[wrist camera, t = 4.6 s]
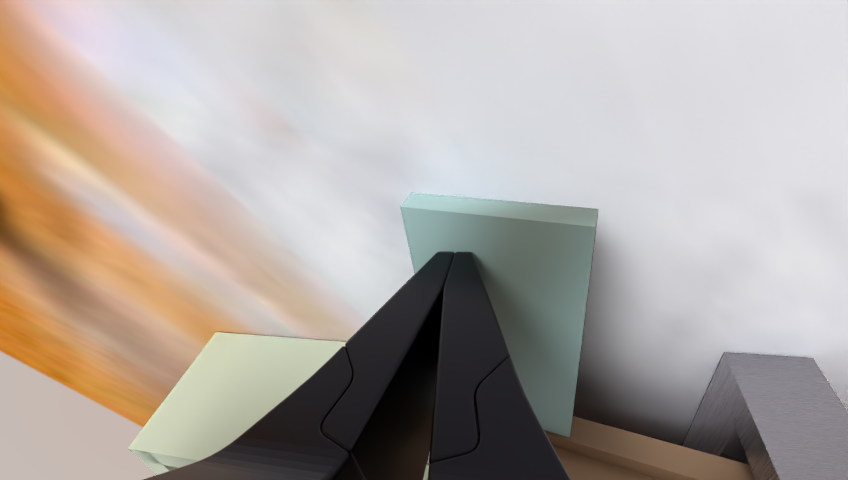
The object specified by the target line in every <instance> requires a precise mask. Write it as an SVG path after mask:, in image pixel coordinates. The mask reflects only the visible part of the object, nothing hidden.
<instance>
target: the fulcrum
mask: <svg viewBox="0 0 848 480" xmlns="http://www.w3.org/2000/svg"><path fill="white" fill-rule="evenodd" d="M682 446H683V447H687V448H690V449H694V450H698V451H701V452H705V453H708V454H712V455H716V456H719V457H723V458H726V459H730V460H734V461H737V462H741V463H745V464H748V465H750V467H751V469H752V472H753V474H754V477H755V479H756V480H848V413H847V411H846V410H845V408H844V407H843V405H842V403H841V402H840V400H839V399H838V397H837V395H836V394H835V392H834V391H833V389H832V388H831V386H830V384H829V383H828V381H827V380H826V378H825V377H824V375H823V373H822V372H821V370H820V369H819V367H818V365H817V364H816V362H815V361H814V359H813V358H800V357H785V356H770V355H755V354H740V353H725V352H724V354H723V356H722V358H721V360H720V363H719V365H718V367H717V369H716V372H715V374H714V376H713V378H712V381H711V383H710V385H709V387H708V389H707V392H706V394H705V396H704V398H703V401H702V403H701V405H700V407H699V409H698V412H697V414H696V416H695V418H694V421H693V423H692V425H691V427H690V429H689V432H688V434H687V436H686V438H685V441H684V443H683V445H682Z"/></svg>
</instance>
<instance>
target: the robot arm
mask: <svg viewBox="0 0 848 480" xmlns="http://www.w3.org/2000/svg"><path fill="white" fill-rule="evenodd" d="M429 451H430V458H429V464H430V465H429V472H428V480H571V479H570V477H569V475H568V473H567V471H566V470H565V468H564V466H563V464H562V462H561V460H560V458H559V457H558V455H557V453H556V451H555V449H554V447H553V446H552V444H551V442H550V440H549V438H548V436H547V435H546V433H545V431H544V429H543V427H542V425H541V424H540V422H539V420H538V418H537V416H536V414H535V412H534V410H533V408H532V406H531V404H530V402H529V400H528V398H527V396H526V393H525V391H524V388H523V386H522V384H521V381H520V379H519V376H518V374H517V371H516V368H515V366H514V363H513V360H512V359H511V355H510V353H509V350H508V347H507V344H506V342H505V339H504V336H503V333H502V331H501V328H500V325H499V323H498V320H497V317H496V314H495V312H494V309H493V306H492V303H491V301H490V298H489V295H488V292H487V290H486V287H485V284H484V282H483V279H482V276H481V273H480V271H479V268H478V265H477V262H476V260H475V257H474V254H473V253H472V252H452V251H439V252H437V253H436V254H435V255H434V256H433V257H432V258H431V259H430V260H429V261H427V262H426V263H425V264H424V265H423V266H422V267H421V268H420V269H419V270H418V271H417V272H416V273H415V274H414V275H413V276H412V277H411V278H410V279H409V280H408V281H407V282H406V283H405V284H404V285H403V286H402V287H401V288H400V289H399V290H398V291H397V292H396V293H395V294H394V295H393V296H392V297H391V298H390V299H389V300H388V301H387V302H386V303H385V304H384V305H383V306H382V307H381V308H380V309H379V310H378V311H377V312H376V313H375V314H374V315H373V316H372V317H371V318H370V319H369V320H368V321H367V322H366V323H365V324H364V325H363V326H362V327H361V328H360V329H359V330H358V331H357V332H356V333H355V334H354V335H353V336H352V337H351V338H350V339H349V340H348V341H347V342H346V343H345V346H342V347H341V348H340V349H339V350H338V351H337V352H336V353H335V354H334V355H333V356H332V357H331V358H330V359H329V360H328V361H327V362H326V363H325V364H324V365H323V366H322V367H321V368H319V369H318V370H317V371H316V372H315V373H314V374H313V375H312V376H311V377H310V378H309V379H307V380H306V381H305V382H304V383H303V384H302V385H300V386H299V387H298V388H297V389H296V390H295V391H294V392H292V393H291V394H290V395H289V396H288V397H286V398H285V399H284V400H283V401H282V402H280V403H279V404H278V405H277V406H275V407H274V408H273V409H272V410H271V411H269V412H268V413H267V414H266V415H265V416H263V417H262V418H261V419H260V420H259V421H257V422H256V423H255V424H254V425H253V426H251V427H250V428H249V429H248V430H246V431H245V432H244V433H243V434H242V435H240V436H239V437H238V438H237V439H235V440H234V441H233V442H231V443H230V444H229V445H227V446H226V447H224V448H223V449H221V450H219V451H218V452H216V453H214V454H212V455H211V456H209V457H206V458H204V459H202V460H200V461H197V462H194V463H192V464H189V465H186V466H183V467H180V468H177V469H174V470H171V471H168V472H165V473H162V474H159V475H156V476H153V477H150V478H147V479H144V480H423V477H424V473H425V469H426V464H427V460H428V455H429Z"/></svg>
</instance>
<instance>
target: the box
mask: <svg viewBox="0 0 848 480" xmlns="http://www.w3.org/2000/svg"><path fill="white" fill-rule="evenodd" d="M345 343H346V342H340V341H327V340H314V339H301V338H288V337H275V336H262V335H249V334H235V333H222V332H216V333H215V334H214V336H213V337H212V338H211V340H210V341H209V342H208V343H207V345H206V346H205V347H204V349H203V350H202V351H201V353H200V354H199V355H198V357H197V358H196V359H195V361H194V362H193V363H192V364H191V366H190V367H189V368H188V370H187V371H186V372H185V374H184V375H183V376H182V378H181V379H180V380H179V382H178V383H177V384H176V385H175V387H174V388H173V389H172V391H171V392H170V393H169V395H168V396H167V397H166V399H165V400H164V401H163V403H162V404H161V405H160V406H159V408H158V409H157V410H156V412H155V413H154V414H153V416H152V417H151V418H150V420H149V421H148V422H147V424H146V425H145V426H144V428H143V429H142V430H141V432H140V433H139V434H138V436H137V437H136V438H135V440H134V441H133V442H132V443H131V445H130V446H129V447H128V449H129V450H130V451H131V452H132V453H133V454H135V455H136V456H137V457H138V458H139V459H140V460H141V461H143V462H144V463H145V464H146V465H147V466H149V468H151V469H152V470H153V471H154V472H155V473H156V474H158V475H159V474H162V473H165V472H168V471H171V470H174V469H177V468H180V467H183V466H186V465H189V464H192V463H194V462H197V461H200V460H202V459H204V458H206V457H209V456H211V455H212V454H214V453H216V452H218V451H219V450H221V449H223V448H224V447H226V446H227V445H229V444H230V443H231V442H233V441H234V440H235V439H237V438H238V437H239V436H240V435H242V434H243V433H244V432H245V431H246V430H248V429H249V428H250V427H251V426H253V425H254V424H255V423H256V422H257V421H259V420H260V419H261V418H262V417H263V416H265V415H266V414H267V413H268V412H269V411H271V410H272V409H273V408H274V407H275V406H277V405H278V404H279V403H280V402H282V401H283V400H284V399H285V398H286V397H288V396H289V395H290V394H291V393H292V392H294V391H295V390H296V389H297V388H298V387H299V386H300V385H302V384H303V383H304V382H305V381H306V380H307V379H309V378H310V377H311V376H312V375H313V374H314V373H315V372H316V371H317V370H318V369H319V368H321V367H322V366H323V365H324V364H325V363H326V362H327V361H328V360H329V359H330V358H331V357H332V356H333V355H334V354H335V353H336V352H337V351H338V350H339V349H340V348H341V347H342V346H345ZM428 472H429V465H427V464H426V469H425V473H424V477H423V480H428Z"/></svg>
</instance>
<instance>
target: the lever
mask: <svg viewBox="0 0 848 480" xmlns="http://www.w3.org/2000/svg"><path fill="white" fill-rule="evenodd" d="M401 212H402V216H403V221H404V226H405V230H406V235H407V240H408V244H409V249H410V254H411V259H412V263H413V268H414V273H416V272H417V271H418V270H419V269H420V268H421V267H422V266H423V265H424V264H425V263H426V262H427V261H429V260H430V259H431V258H432V257H433V256H434V255H435V254H436V253H437V252H439V251H452V252H472V253H473V254H474V257H475V260H476V262H477V265H478V268H479V271H480V273H481V276H482V279H483V282H484V284H485V287H486V290H487V292H488V295H489V298H490V301H491V303H492V306H493V309H494V312H495V314H496V317H497V320H498V323H499V325H500V328H501V331H502V333H503V336H504V339H505V342H506V344H507V347H508V350H509V353H510V355H511V359H512V360H513V363H514V366H515V368H516V371H517V374H518V376H519V379H520V381H521V384H522V386H523V388H524V391H525V393H526V396H527V398H528V400H529V402H530V404H531V406H532V408H533V410H534V412H535V414H536V416H537V418H538V420H539V422H540V424H541V425H542V427H543V429H544V431H545V433H546V435H547V436H548V438H549V440H550V442H551V444H552V446H553V447H554V449H555V451H556V453H557V455H558V457H559V458H560V460H561V462H562V464H563V466H564V468H565V470H566V471H567V473H568V475H569V477H570V479H571V480H756V479H755V477H754V474H753V472H752V469H751V467H750V465H748V464H745V463H741V462H737V461H734V460H730V459H726V458H723V457H719V456H716V455H712V454H708V453H705V452H701V451H698V450H694V449H690V448H687V447H683V446H680V445H676V444H672V443H669V442H665V441H661V440H658V439H654V438H651V437H647V436H643V435H640V434H636V433H633V432H629V431H625V430H622V429H618V428H615V427H611V426H607V425H604V424H600V423H597V422H593V421H589V420H586V419H582V418H578V417H575V416H573V409H574V401H575V393H576V385H577V377H578V369H579V361H580V353H581V345H582V337H583V329H584V321H585V313H586V305H587V297H588V289H589V281H590V273H591V265H592V257H593V249H594V241H595V233H596V225H597V217H598V209H592V208H581V207H569V206H558V205H546V204H535V203H523V202H512V201H501V200H489V199H478V198H466V197H455V196H443V195H432V194H420V193H411V194H410V195H409V197H408V198H407V199H406V200H405V202H404V203H403V204H402V205H401Z"/></svg>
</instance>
